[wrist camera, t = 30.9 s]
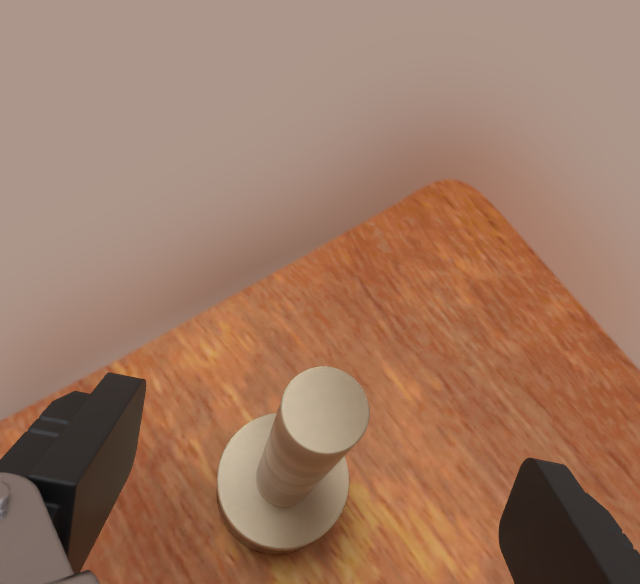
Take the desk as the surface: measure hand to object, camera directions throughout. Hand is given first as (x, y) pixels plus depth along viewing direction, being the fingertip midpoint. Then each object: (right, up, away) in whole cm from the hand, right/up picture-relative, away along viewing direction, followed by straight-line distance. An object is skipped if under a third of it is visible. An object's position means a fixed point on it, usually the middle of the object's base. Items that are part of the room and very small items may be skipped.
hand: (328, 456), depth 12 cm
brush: (-2, -6, +16) cm, 17 cm away
